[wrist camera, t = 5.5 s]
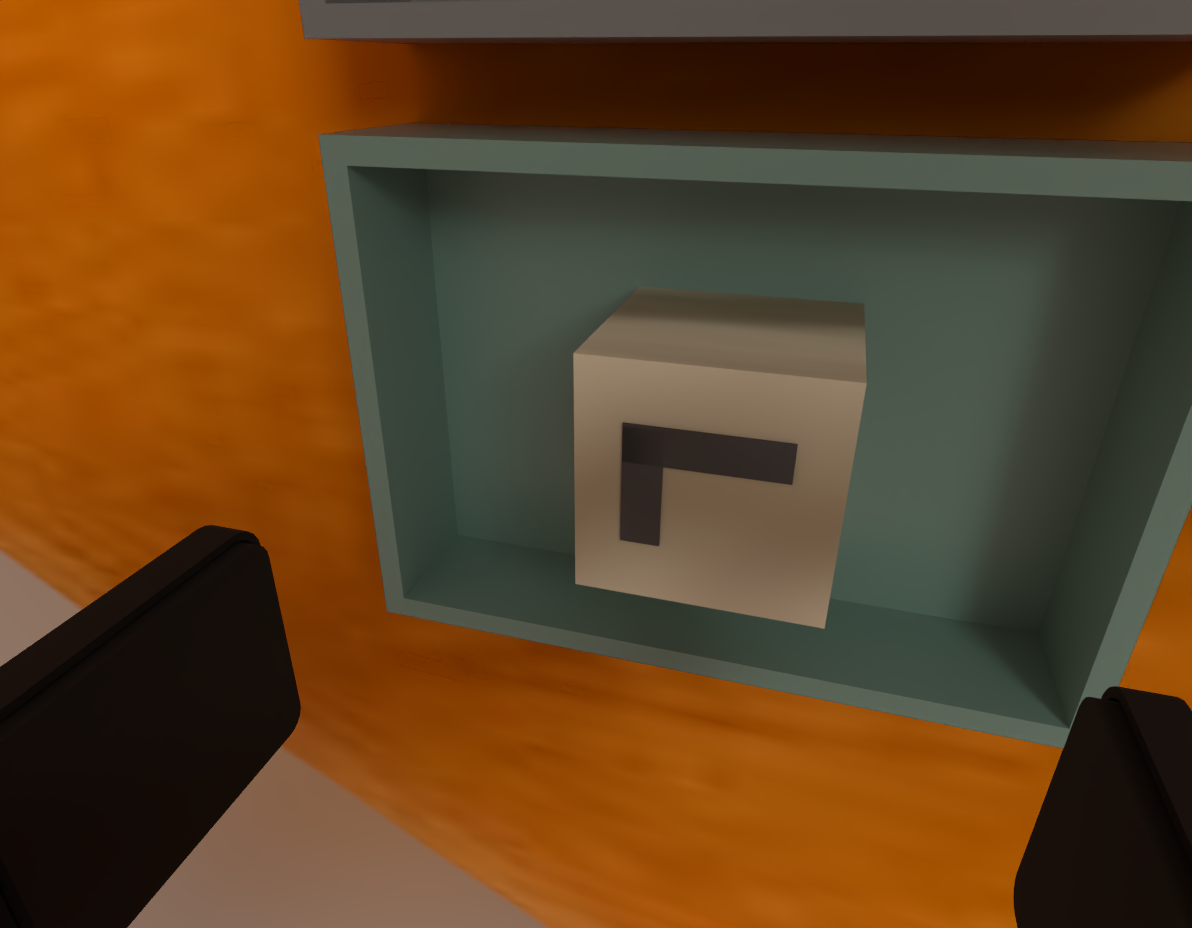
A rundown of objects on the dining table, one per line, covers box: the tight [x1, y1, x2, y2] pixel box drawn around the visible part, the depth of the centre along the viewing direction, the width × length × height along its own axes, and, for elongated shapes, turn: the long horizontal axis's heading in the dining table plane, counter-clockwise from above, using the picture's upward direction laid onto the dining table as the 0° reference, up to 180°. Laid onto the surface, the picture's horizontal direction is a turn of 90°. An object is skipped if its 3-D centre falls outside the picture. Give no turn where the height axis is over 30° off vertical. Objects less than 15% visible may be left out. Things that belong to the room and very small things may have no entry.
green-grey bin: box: [318, 123, 1192, 748], centre depth 16 cm, size 10×15×4 cm
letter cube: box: [573, 286, 867, 629], centre depth 15 cm, size 4×4×5 cm
